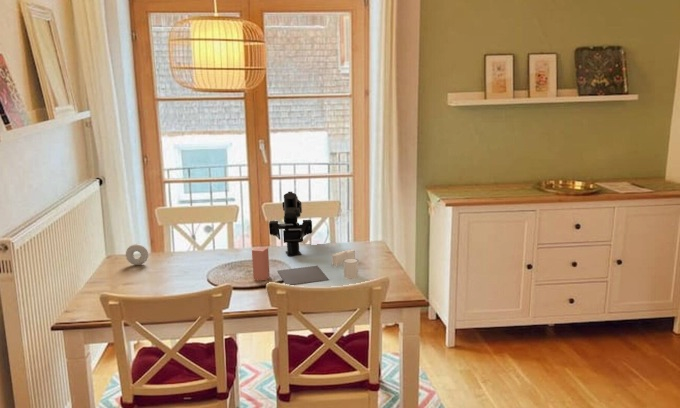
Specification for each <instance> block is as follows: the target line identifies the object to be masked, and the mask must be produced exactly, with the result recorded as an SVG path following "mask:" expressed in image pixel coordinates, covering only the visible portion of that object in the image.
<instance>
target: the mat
mask: <svg viewBox="0 0 680 408" xmlns="http://www.w3.org/2000/svg"><path fill="white" fill-rule="evenodd" d="M277 272H278V275H279V274H280V275H279V277H281V280H282V281H283V282H284V284H285V285H286V284H290V285H289V286H295V285H303V284H312V283H319V282H325V281H326V282H327V281H330V279H329V277H328V276H327V275H326V274H325V273H324V272H323V270H322V269H321V268H320V267H319V265H310V266H303V267H302V266H301V267H296V268H295V267H293V268H287V269H281V270H280V269H279V270H277Z"/></svg>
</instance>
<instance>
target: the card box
mask: <svg viewBox="0 0 680 408" xmlns="http://www.w3.org/2000/svg"><path fill="white" fill-rule="evenodd" d="M269 256H270V255H269V247H264V246H263V247H262V246H257V247H255V248H253V249H251V257H252V258H251V259H252V274H253V277H252V279H253V280H254V279H258V280H257V281H259V280H265V281H267V280H268V279H269V278H270V260H269V258H270V257H269ZM268 277H269V278H268ZM267 278H268V279H267Z"/></svg>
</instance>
